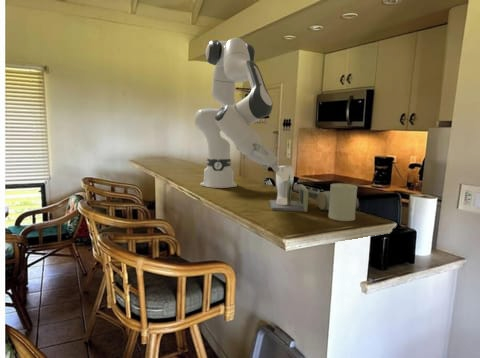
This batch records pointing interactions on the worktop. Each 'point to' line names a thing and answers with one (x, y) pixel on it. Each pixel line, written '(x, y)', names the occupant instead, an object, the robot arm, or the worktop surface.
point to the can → (342, 202)
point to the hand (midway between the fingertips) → (272, 169)
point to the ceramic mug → (323, 200)
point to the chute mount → (294, 202)
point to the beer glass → (284, 184)
